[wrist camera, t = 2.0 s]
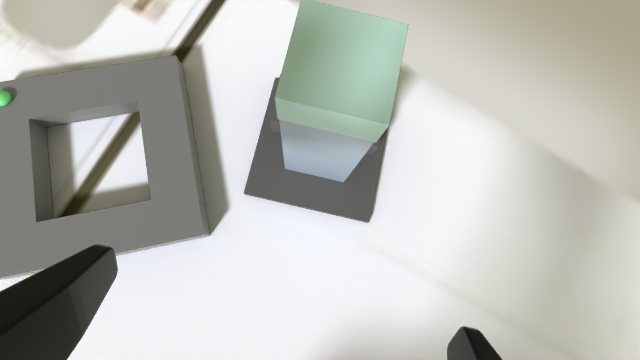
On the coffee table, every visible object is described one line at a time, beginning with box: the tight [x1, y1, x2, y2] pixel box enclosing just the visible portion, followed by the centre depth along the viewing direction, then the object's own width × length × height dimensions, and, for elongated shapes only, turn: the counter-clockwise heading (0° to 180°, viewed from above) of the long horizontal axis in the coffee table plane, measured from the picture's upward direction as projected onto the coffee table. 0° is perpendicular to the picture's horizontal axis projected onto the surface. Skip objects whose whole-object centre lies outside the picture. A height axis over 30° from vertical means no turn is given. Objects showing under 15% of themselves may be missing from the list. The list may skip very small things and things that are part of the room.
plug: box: [275, 0, 408, 182], centre depth 18 cm, size 4×4×11 cm
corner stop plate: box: [244, 78, 387, 223], centre depth 22 cm, size 8×8×2 cm
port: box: [0, 55, 210, 280], centre depth 21 cm, size 12×12×2 cm
